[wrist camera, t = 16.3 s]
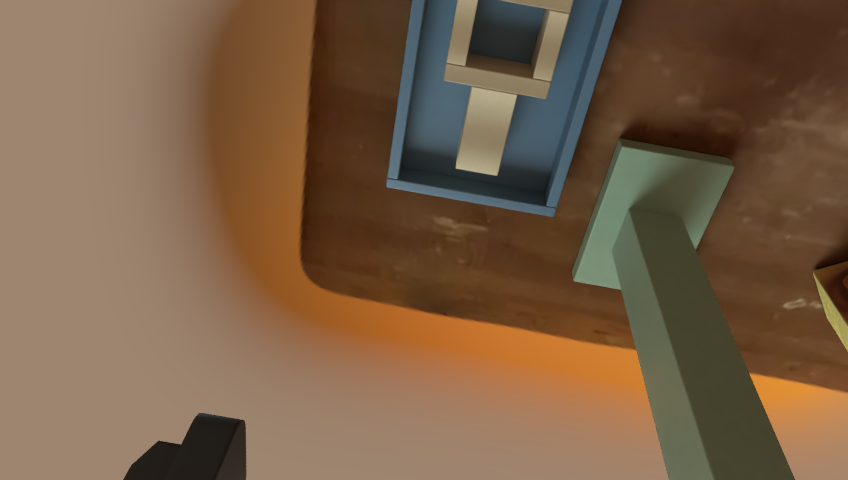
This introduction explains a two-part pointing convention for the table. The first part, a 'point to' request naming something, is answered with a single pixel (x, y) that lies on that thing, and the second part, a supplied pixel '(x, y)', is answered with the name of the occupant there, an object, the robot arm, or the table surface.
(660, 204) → the stand
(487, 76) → the beige square frame paddle
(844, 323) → the candy box
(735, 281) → the table surface
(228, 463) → the robot arm
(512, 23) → the tray
